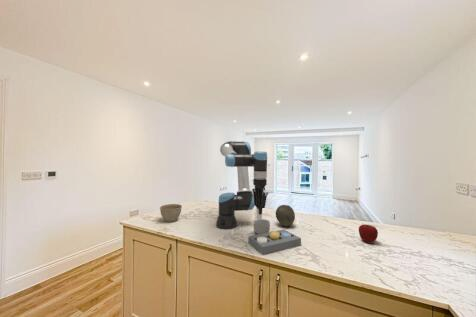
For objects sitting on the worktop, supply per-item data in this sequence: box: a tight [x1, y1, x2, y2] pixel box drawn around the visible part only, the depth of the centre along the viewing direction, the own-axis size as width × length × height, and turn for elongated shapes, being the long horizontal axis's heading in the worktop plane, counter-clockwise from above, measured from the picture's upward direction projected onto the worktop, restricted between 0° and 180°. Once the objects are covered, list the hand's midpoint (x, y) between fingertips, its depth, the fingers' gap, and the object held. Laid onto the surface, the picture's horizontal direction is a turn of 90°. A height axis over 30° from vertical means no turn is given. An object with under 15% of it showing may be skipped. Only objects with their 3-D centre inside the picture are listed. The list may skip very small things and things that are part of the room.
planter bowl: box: [159, 203, 183, 223], centre depth 152 cm, size 16×16×11 cm
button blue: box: [281, 231, 292, 238], centre depth 115 cm, size 6×6×4 cm
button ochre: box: [269, 230, 279, 241], centre depth 112 cm, size 6×6×4 cm
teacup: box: [252, 218, 271, 235], centre depth 129 cm, size 14×11×8 cm
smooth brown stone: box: [275, 204, 296, 227], centre depth 143 cm, size 14×14×15 cm
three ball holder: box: [247, 229, 302, 256], centre depth 112 cm, size 15×26×4 cm, turn 116°
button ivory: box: [257, 237, 267, 244], centre depth 108 cm, size 6×6×4 cm
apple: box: [358, 224, 379, 244], centre depth 116 cm, size 10×10×10 cm
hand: (259, 219), depth 112 cm, fingers closed
